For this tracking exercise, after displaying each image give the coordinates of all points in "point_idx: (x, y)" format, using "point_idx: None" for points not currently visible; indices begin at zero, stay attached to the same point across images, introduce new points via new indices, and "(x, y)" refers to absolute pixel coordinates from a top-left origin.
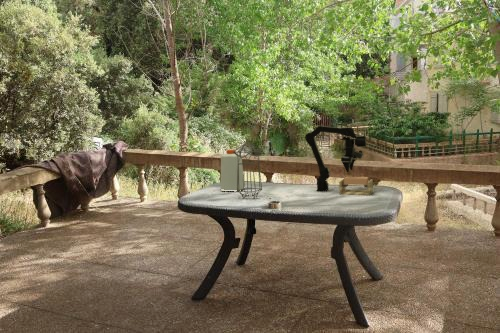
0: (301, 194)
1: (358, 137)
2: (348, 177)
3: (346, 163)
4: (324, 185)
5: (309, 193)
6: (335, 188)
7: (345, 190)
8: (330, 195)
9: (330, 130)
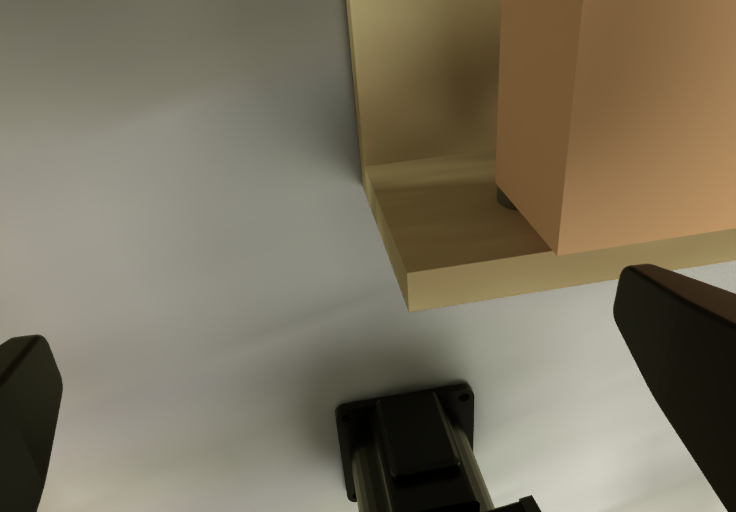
0: (657, 505)
1: None
2: (700, 142)
3: None
4: (468, 466)
5: (600, 473)
6: (189, 370)
7: (461, 135)
8: None
9: None
